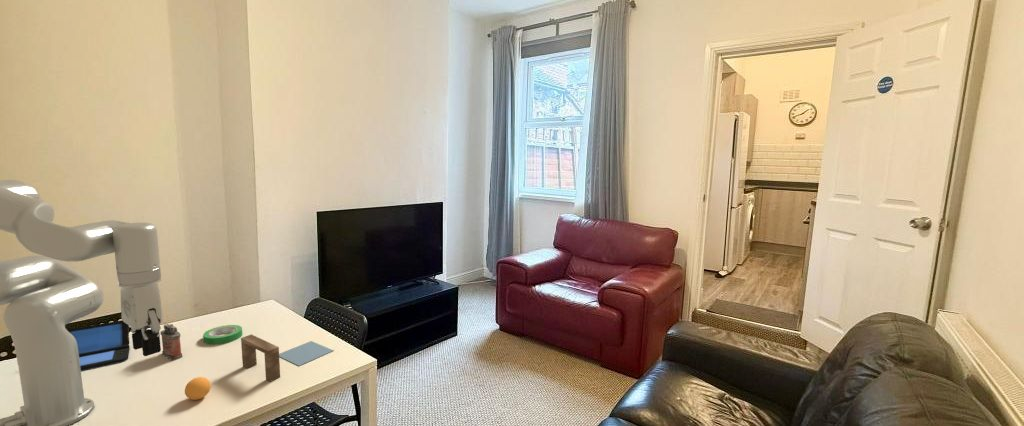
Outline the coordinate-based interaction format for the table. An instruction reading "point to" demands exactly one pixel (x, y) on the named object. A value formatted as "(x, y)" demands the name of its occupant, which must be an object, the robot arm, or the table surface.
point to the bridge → (270, 352)
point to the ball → (197, 388)
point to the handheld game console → (102, 344)
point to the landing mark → (305, 353)
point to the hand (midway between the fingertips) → (147, 349)
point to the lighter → (171, 342)
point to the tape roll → (215, 340)
